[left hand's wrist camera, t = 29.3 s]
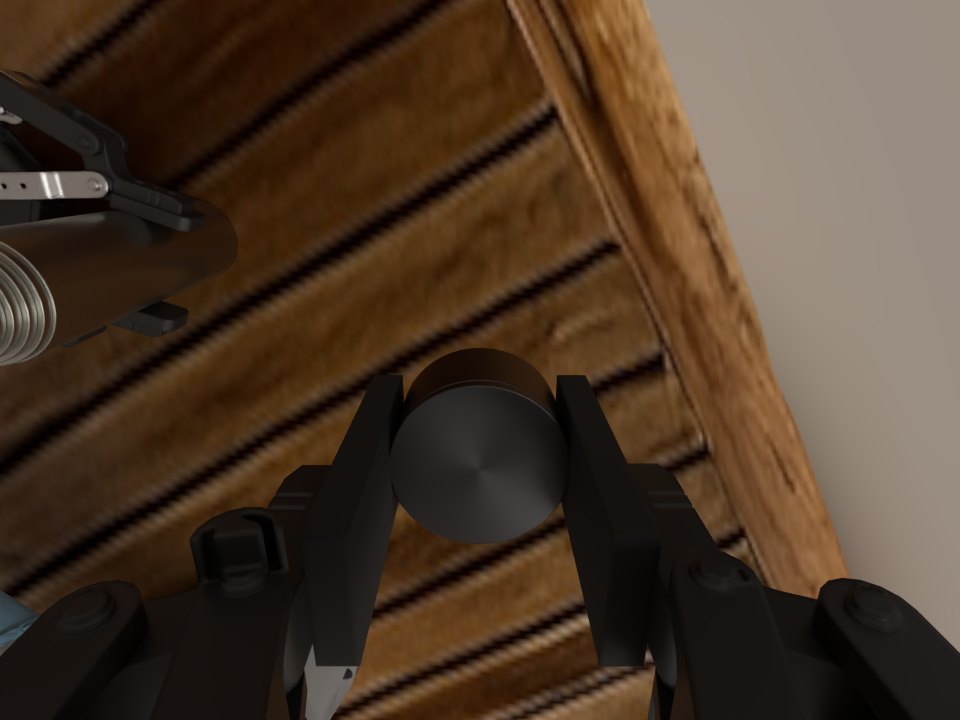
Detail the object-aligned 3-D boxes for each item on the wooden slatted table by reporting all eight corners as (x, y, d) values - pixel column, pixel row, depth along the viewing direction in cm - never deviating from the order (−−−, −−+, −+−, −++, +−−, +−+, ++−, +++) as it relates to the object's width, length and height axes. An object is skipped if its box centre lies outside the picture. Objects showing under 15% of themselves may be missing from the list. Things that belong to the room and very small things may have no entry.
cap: (468, 315, 14) (466, 348, 11) (589, 410, 15) (610, 458, 12) (372, 429, 15) (352, 480, 13) (489, 510, 16) (491, 572, 13)
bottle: (247, 220, 34) (-57, 305, 15) (224, 289, 36) (-78, 447, 16) (170, 185, 33) (-257, 224, 14) (150, 256, 35) (-260, 381, 15)
